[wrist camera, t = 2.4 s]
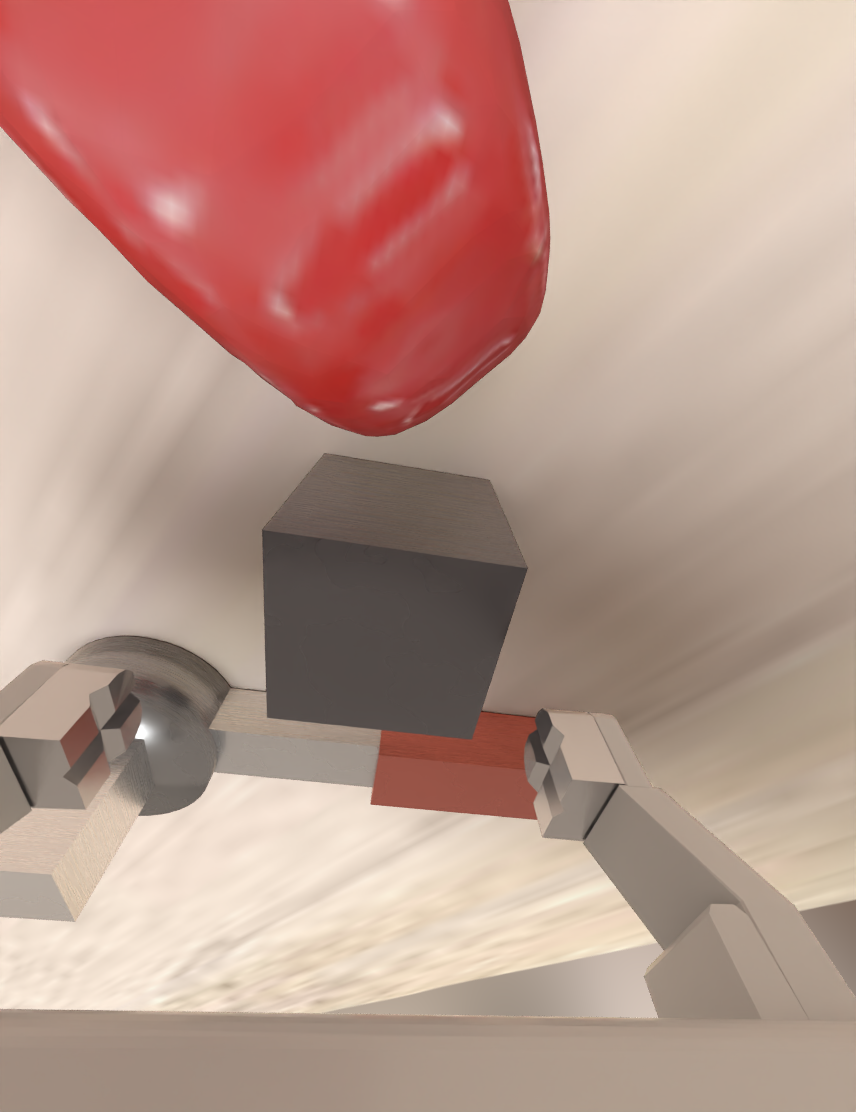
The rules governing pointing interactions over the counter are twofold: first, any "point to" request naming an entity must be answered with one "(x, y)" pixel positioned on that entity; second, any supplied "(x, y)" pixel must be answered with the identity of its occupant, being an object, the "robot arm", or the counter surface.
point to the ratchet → (239, 771)
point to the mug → (303, 180)
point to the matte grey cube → (387, 598)
